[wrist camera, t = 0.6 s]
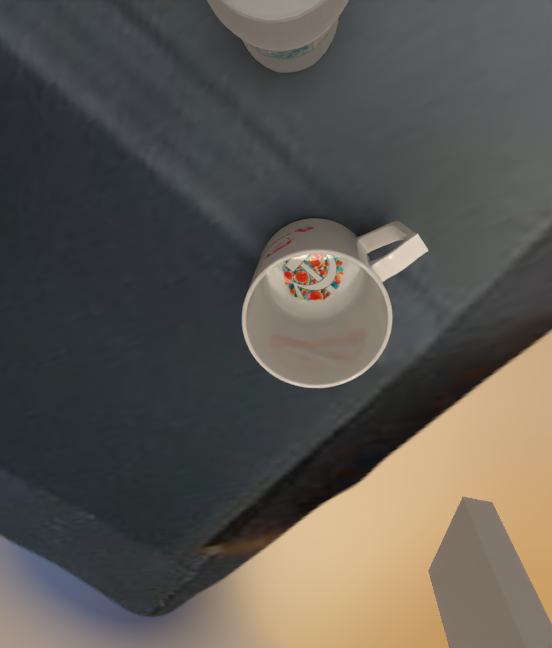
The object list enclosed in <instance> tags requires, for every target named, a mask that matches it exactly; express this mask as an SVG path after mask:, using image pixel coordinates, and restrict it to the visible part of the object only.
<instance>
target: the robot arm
mask: <svg viewBox="0 0 552 648" xmlns="http://www.w3.org/2000/svg"><path fill="white" fill-rule="evenodd" d="M429 575H430V578H431V582H432V586H433V589H434V593H435V597H436V600H437V604H438V608H439V611H440V615H441V619H442V622H443V626H444V630H445V633H446V637H447V640H448V644H449V648H552V624H551V622H550V620H549V618H548V616H547V614H546V612H545V610H544V608H543V605H542V604H541V601H540V599H539V597H538V595H537V593H536V591H535V589H534V587H533V585H532V583H531V581H530V579H529V577H528V575H527V573H526V571H525V569H524V567H523V565H522V563H521V561H520V558H519V556H518V554H517V552H516V550H515V548H514V546H513V544H512V542H511V540H510V538H509V536H508V534H507V532H506V530H505V528H504V526H503V524H502V522H501V520H500V518H499V516H498V513H497V511H496V509H495V507H494V505H493V503H492V502H488V501H482V500H477V499H472V498H467V497H462V500H461V502H460V504H459V506H458V508H457V511H456V513H455V515H454V517H453V519H452V521H451V523H450V526H449V528H448V530H447V532H446V534H445V536H444V539H443V541H442V543H441V545H440V547H439V549H438V552H437V554H436V556H435V558H434V560H433V562H432V564H431V567H430V569H429Z"/></svg>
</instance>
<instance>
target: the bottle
mask: <svg viewBox="0 0 552 648" xmlns="http://www.w3.org/2000/svg"><path fill="white" fill-rule="evenodd" d="M207 1H208V3H209V5H210V6H211V8H212V10H213V11H214V13H215V15H216V16H217V17H218V18H219V20H220V21H221V22H222V23H223V24H224V25H225V26H226V27H227V28H228V29H229V30H230V31H232V32H233V33H234V34H235V35H236V36H238V37H239V38H241V39H242V40H243V43H244V44H245V46H246V48H247V50H248V51H249V52H250V53H251V55H252V56H253V57H254V58H255V59H256V60H257V61H258V62H260V63H261V64H262V65H264V66H265V67H267V68H269V69H271V70H273V71H275V72H281V73H289V72H297V71H300V70H304V69H306V68H308V67H310V66H312V65H314V64H315V63H316V62H317V61H318V60H319V59H320V58H321V57H322V56H323V55H324V53H325V52H326V51H327V49H328V48H329V46H330V44H331V43H332V40H333V38H334V35H335V33H336V29H337V25H338V19H339V16H340V14H341V13H342V11H343V10H344V8H345V6H346V4H347V3H348V1H349V0H207Z"/></svg>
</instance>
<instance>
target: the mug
mask: <svg viewBox="0 0 552 648" xmlns="http://www.w3.org/2000/svg"><path fill="white" fill-rule="evenodd" d="M398 240H404V242H403V243H402V244H400V245H399V246H398V247H396V248H395V249H394V250H392V251H391V252H389V253H388V254H386V255H385V256H383V257H381V258H379V259H377V260H374V261H371V259H370V257H369V255H368V253H369V252H371V251H373V250H375V249H377V248H380V247H382V246H385V245H387V244H390V243H392V242H395V241H398ZM427 251H428V249H427V247H426V245H425V244H424V242H423V241H422V239H421V238H420V236H419V234H418V233H415V232H413V231H412V230H410V229H409V228H408V227H406V226H405V225H404V224H402V223H401V222H399V221H395V222H391V223H389V224H386V225H384V226H382V227H380V228H378V229H375V230H373V231H371V232H369V233H367V234H364V235H362V236H359V237H357V236H356V235H355V234H354V233H353V232H352V231H351V230H349V229H348V228H346V227H345V226H343V225H341V224H339V223H337V222H334V221H331V220H327V219H320V218H310V219H303V220H299V221H296V222H293V223H291V224H289V225H287V226H285V227H283V228H282V229H280V230H279V231H278V232H277V233H275V234H274V235H273V236H272V237H271V239H270V240H269V241H268V242H267V244H266V245H265V247H264V249H263V251H262V253H261V256H260V258H259V261H258V264H257V267H256V269H255V272H254V275H253V278H252V280H251V283H250V286H249V289H248V292H247V294H246V297H245V301H244V304H243V310H242V328H243V334H244V338H245V341H246V343H247V346H248V348H249V350H250V351H251V353H252V355H253V356H254V358H255V359H256V360H257V362H258V363H259V364H260V365H261V366H262V367H263V368H264V369H265V370H267V371H268V372H269V373H271V374H272V375H273V376H275V377H277V378H278V379H280V380H282V381H285V382H287V383H290V384H293V385H296V386H301V387H307V388H326V387H332V386H337V385H340V384H343V383H346V382H348V381H351V380H353V379H354V378H356V377H358V376H360V375H361V374H363V373H364V372H365V371H367V370H368V369H369V368H370V367H371V366H372V365H373V364H374V363H375V362H376V361H377V360H378V358H379V357H380V355H381V354H382V352H383V351H384V349H385V347H386V345H387V343H388V340H389V337H390V334H391V329H392V307H391V302H390V299H389V296H388V293H387V291H386V289H385V287H384V285H383V283H382V282H384V281H385V280H386V279H388V278H389V277H391V276H393V275H395V274H397V273H399V272H400V271H402V270H403V269H404V268H406V267H407V266H408V265H410V264H411V263H412V262H414V261H415V260H416V259H417V258H419V257H420V256H421V255H423V254H424V253H426V252H427Z"/></svg>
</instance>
